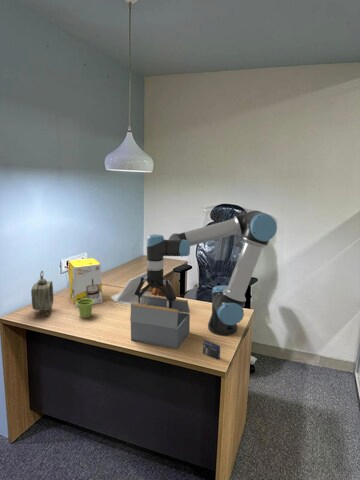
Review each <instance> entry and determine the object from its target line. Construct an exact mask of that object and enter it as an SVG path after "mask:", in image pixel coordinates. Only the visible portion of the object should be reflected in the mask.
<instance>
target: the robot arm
mask: <svg viewBox="0 0 360 480" xmlns="http://www.w3.org/2000/svg"><path fill="white" fill-rule="evenodd" d="M277 230H278V225H277V222H276V220H275V218H274V217H272V215H270V214H268V213H266V212H262V211H260V210H251V211H248V212H245V213H242V214H241V213H240V214H238V215H235V216H234V217H233V218H232V219H228V220H224V221H221V222H217V223H213V224H210V225H206V226H201V227H198V228H194V229H192V230H187V231H184V232H180V233H173V234H171V235H170V236H169V238H168V239H165V238H164V235H162V234H149V235H148V236H147V237H146V272H147V278H146V277H145V276H143V277H141V281H140V284H139V286H138V288H137V290H136V292H135V295H137V296H138V302H139V304H145V300H144V296H143V294H144V293H145V291H148V289H149V288H151V289H154V288H156V289H158V288H159V290H161V291H162V293H163V294H164V295H165V297H166V298H167V299H168V301H167V308H171V307H172V301H175V300H176V299H177V296H176V293H175V291H174V290H173V289H174V288H173V287H172V285H171V280H170V279H165V278H164V257H189V256H190V254H191V247H193V246H197V245H200V244H203V243H207V242H208V243H209V242H212V241H215V240H220V239H223V238H225V237H230V236H233V235H239V236H241V235H242V239H243V241H244V242H243V244H242V247H241V251H240V253H239V255H238V257H237V258H238V259H237V261H236V263H235V266H234V269H233V271H232V274H231V277H230V280H229V282H228V284H227V285H215V286H214V287H212V291H211V295H212V297H211V298H212V300H211V301H212V302H211V303H212V304H211V315H210V318H209V321H208V323H207V329H208V331H209V332H210V333H213V334H215V335H219V336H230V335H233V334H235V333H237V331H238V324H240V322H241V321H242V320H243V318H244V315H245V311H244V307H245V303H246V301H247V298H246V293H247V289H248V288H249V287H248V286H249V284H250V281H251V279H252V276H253V273H254V272H255V268H256V266H257V263H258V261H259V258H260V255H261V253H262V251H263V248H265V247H267V246H268V244H269V242H270V240H271V239H273V238H274V237H275V235H276V234H277ZM145 281H146V282H145ZM144 282H145V283H147V284H146V286H145V287H144V288H143V286H144V285H143V284H145V283H144ZM163 284H165V285H166V287H167V290H168V291H167V290H166V289H165V286H164V285H163ZM142 288H143V289H142ZM140 290H142V291H141V292H140ZM168 292H169V293H168Z"/></svg>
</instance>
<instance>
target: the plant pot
mask: <svg viewBox="0 0 360 480" xmlns="http://www.w3.org/2000/svg"><path fill="white" fill-rule="evenodd" d="M93 302H94V300H92V299H81V300H78V301H77V305H78V307H77V308H78V312H79V316H80V318H81V319H85V318H86V319H87V318H91V317H92V314H93V313H92V312H93V305H94V304H93Z"/></svg>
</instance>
